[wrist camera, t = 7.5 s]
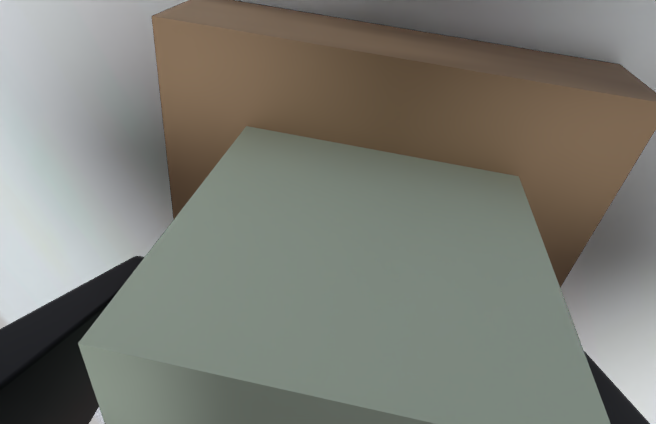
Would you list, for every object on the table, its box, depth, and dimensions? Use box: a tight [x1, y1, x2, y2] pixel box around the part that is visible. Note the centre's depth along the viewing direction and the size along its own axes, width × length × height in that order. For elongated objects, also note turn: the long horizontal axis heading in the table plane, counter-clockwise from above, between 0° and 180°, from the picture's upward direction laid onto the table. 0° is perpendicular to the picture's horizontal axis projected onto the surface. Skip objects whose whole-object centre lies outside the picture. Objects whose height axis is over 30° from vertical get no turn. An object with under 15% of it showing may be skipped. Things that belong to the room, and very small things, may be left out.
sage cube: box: [78, 126, 611, 424], centre depth 9 cm, size 6×6×6 cm
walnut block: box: [152, 0, 656, 287], centre depth 12 cm, size 10×10×2 cm
